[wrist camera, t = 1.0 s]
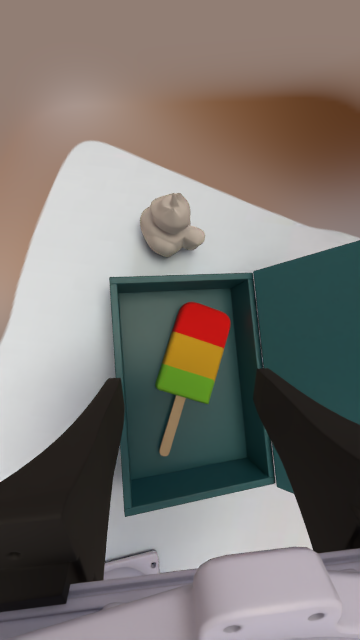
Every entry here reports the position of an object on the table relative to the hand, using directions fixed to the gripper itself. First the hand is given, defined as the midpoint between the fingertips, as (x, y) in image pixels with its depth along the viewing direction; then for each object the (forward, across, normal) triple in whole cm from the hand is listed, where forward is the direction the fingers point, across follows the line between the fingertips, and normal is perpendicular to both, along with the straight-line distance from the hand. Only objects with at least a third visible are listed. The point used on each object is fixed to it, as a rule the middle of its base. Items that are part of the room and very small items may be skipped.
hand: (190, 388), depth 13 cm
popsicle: (+11, -1, +7) cm, 13 cm away
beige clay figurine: (+18, 0, -5) cm, 19 cm away
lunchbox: (+11, -1, +8) cm, 13 cm away
